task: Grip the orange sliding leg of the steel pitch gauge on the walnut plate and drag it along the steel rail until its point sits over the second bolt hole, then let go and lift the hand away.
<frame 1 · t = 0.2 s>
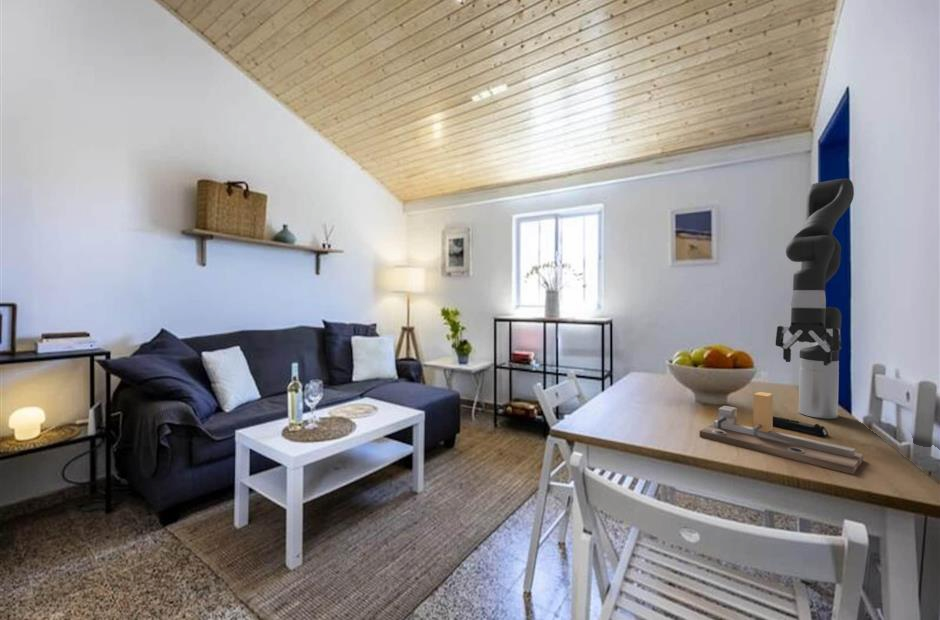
hand: (806, 363, 116), 17 cm above the table, fingers open, 8 cm apart
bolt plate: (774, 447, 100), on the table
sliding leg: (760, 413, 102), point 8 cm above the table, slide at 3.0 cm
electric trimmer: (792, 431, 113), on the table
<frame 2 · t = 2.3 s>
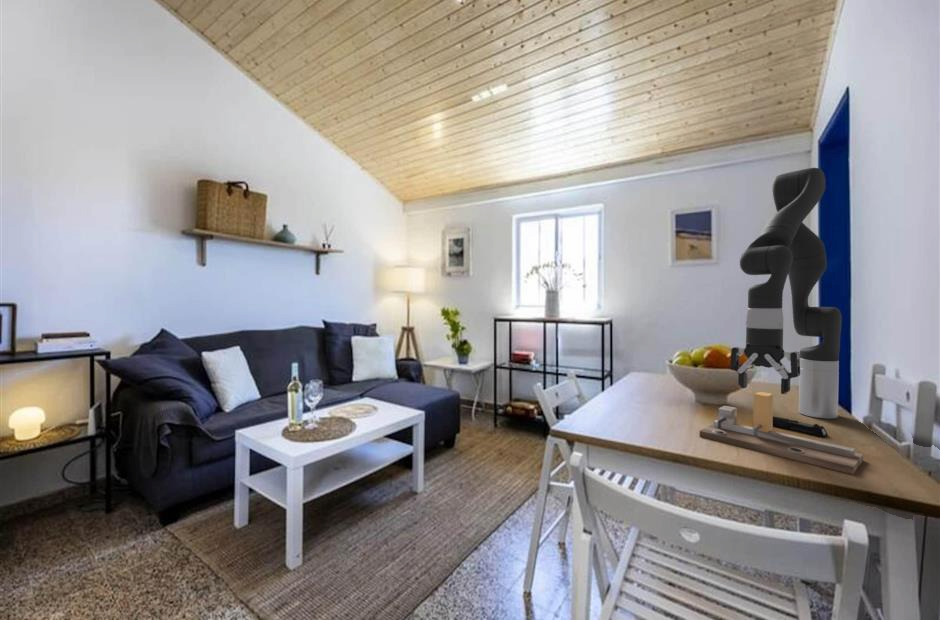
hand: (763, 390, 103), 13 cm above the table, fingers open, 8 cm apart
nothing on the table moved.
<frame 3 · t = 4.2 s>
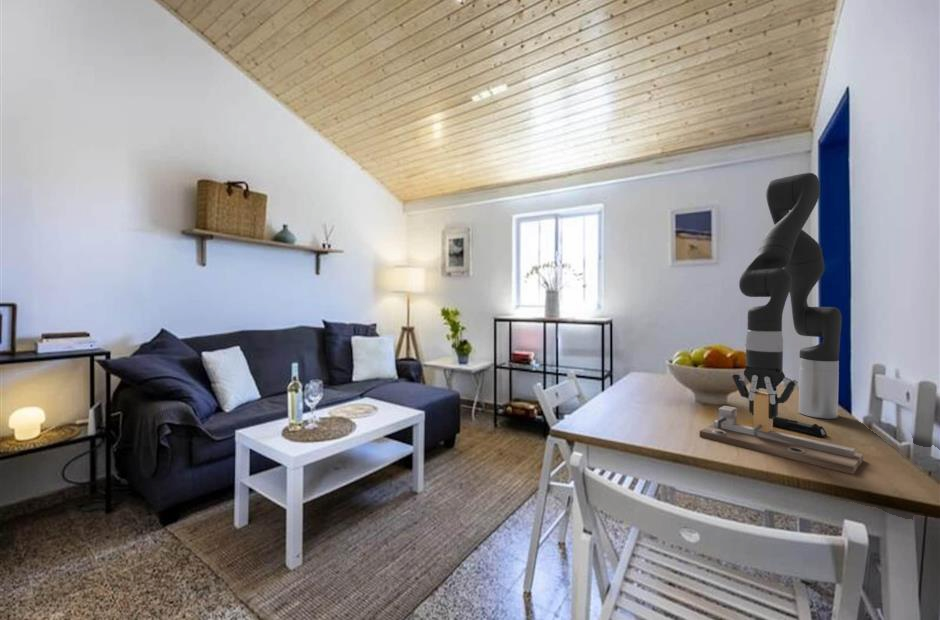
hand: (763, 416, 103), 7 cm above the table, fingers closed on sliding leg, 3 cm apart
sliding leg: (760, 413, 102), point 8 cm above the table, slide at 3.0 cm, touching gripper
everything else where it was.
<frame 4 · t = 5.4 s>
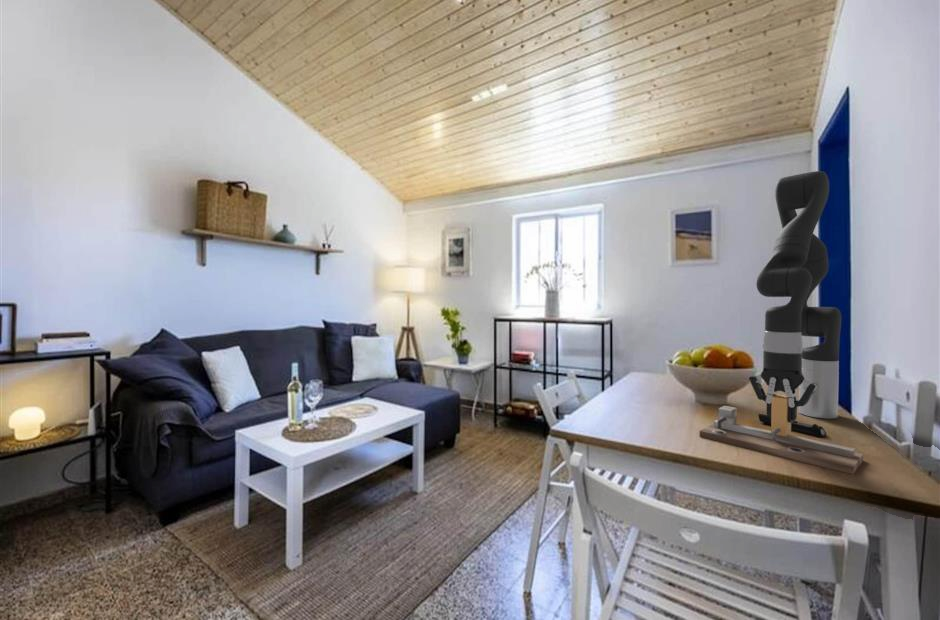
hand: (781, 419, 100), 7 cm above the table, fingers closed on sliding leg, 3 cm apart
sliding leg: (778, 416, 99), point 8 cm above the table, slide at 6.8 cm, touching gripper
everything else where it was.
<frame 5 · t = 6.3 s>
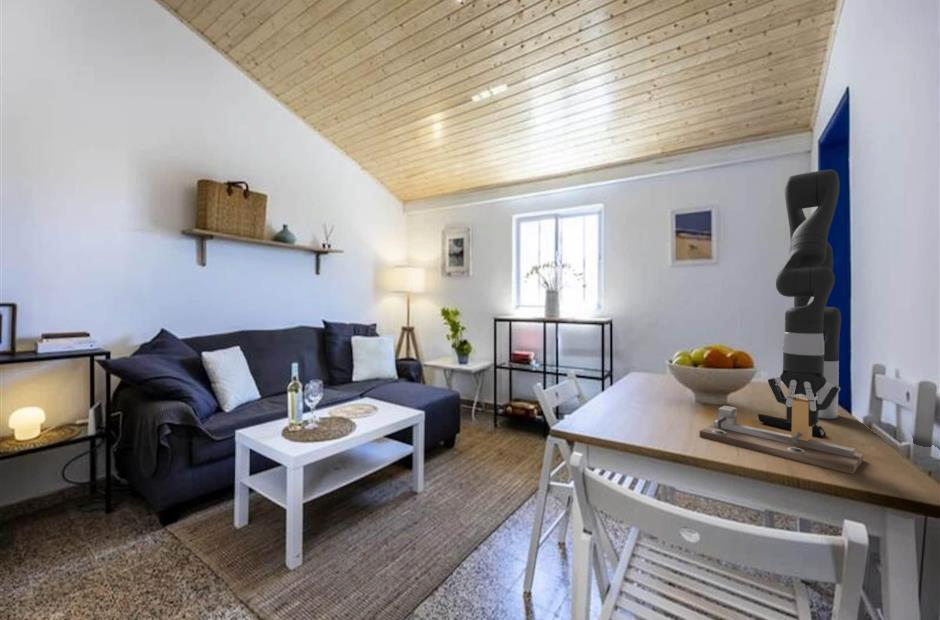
hand: (801, 423, 97), 7 cm above the table, fingers closed on sliding leg, 3 cm apart
sliding leg: (799, 420, 96), point 8 cm above the table, slide at 10.8 cm, touching gripper
everything else where it was.
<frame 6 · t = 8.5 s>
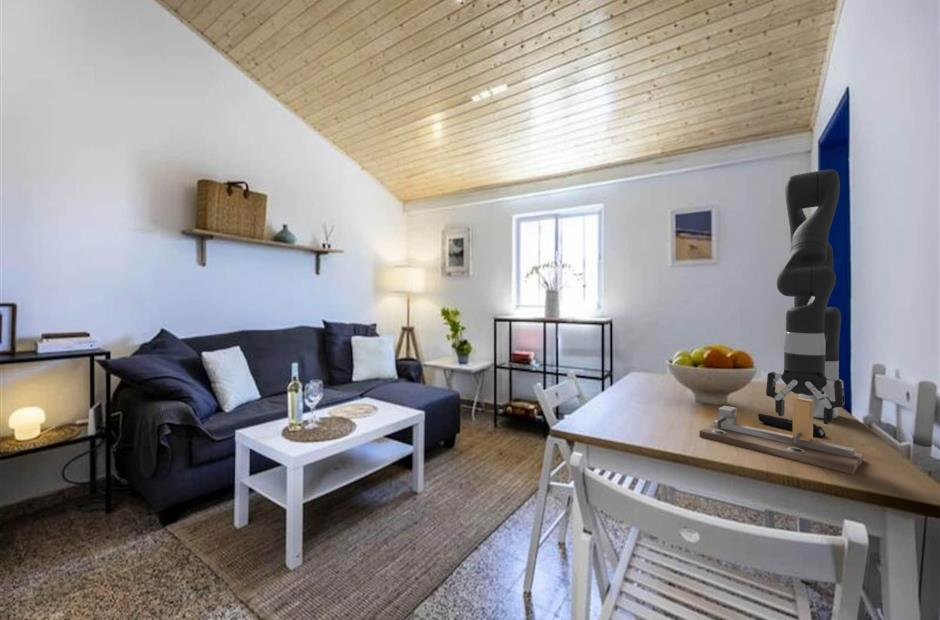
hand: (803, 419, 97), 8 cm above the table, fingers open, 8 cm apart
sliding leg: (800, 420, 96), point 8 cm above the table, slide at 11.0 cm
everything else where it was.
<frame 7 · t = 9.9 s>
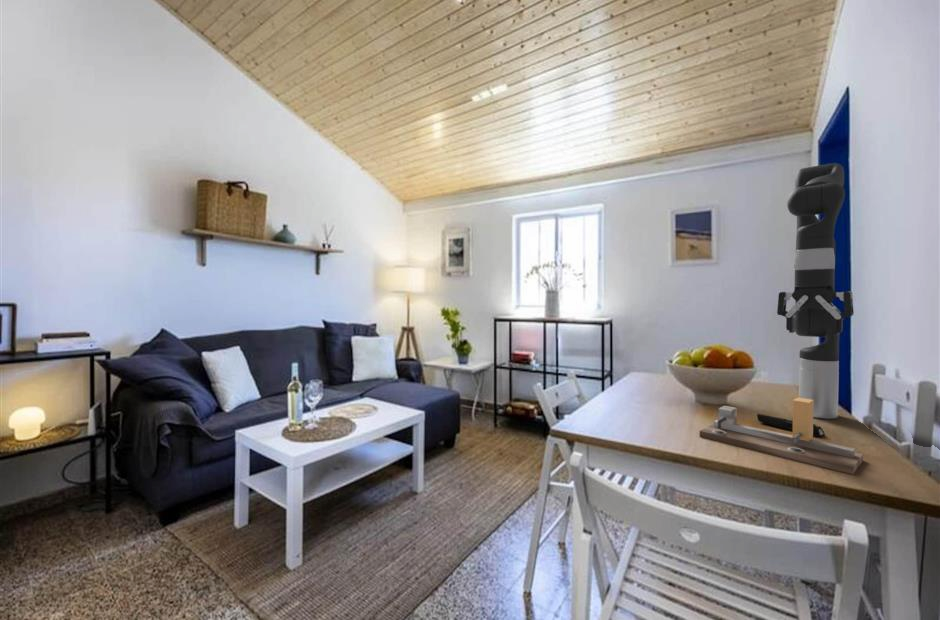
hand: (813, 333, 101), 28 cm above the table, fingers open, 8 cm apart
nothing on the table moved.
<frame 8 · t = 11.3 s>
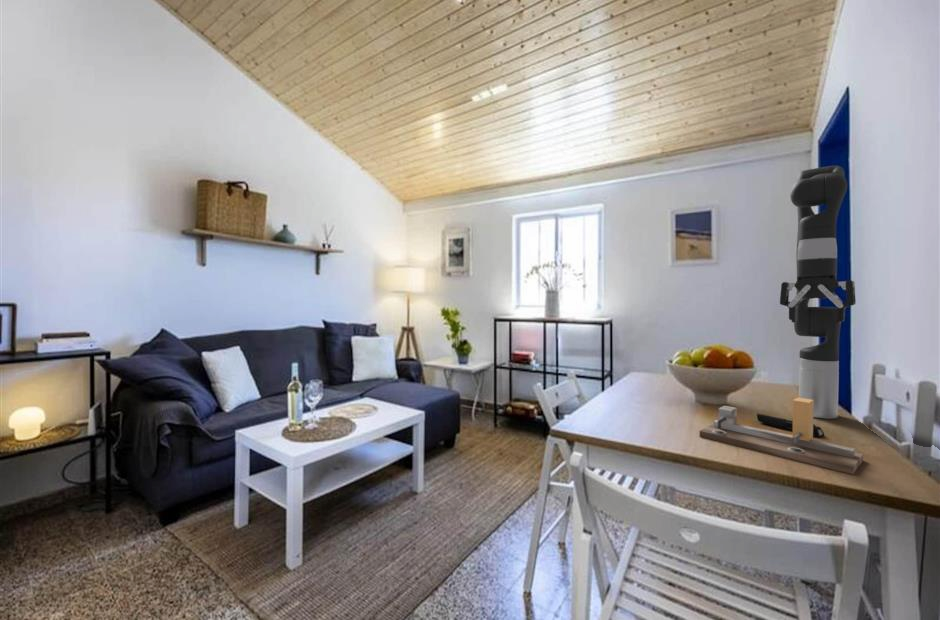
hand: (815, 322, 102), 30 cm above the table, fingers open, 8 cm apart
at the end: sliding leg slide at 11.0 cm; the gripper is holding nothing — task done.
